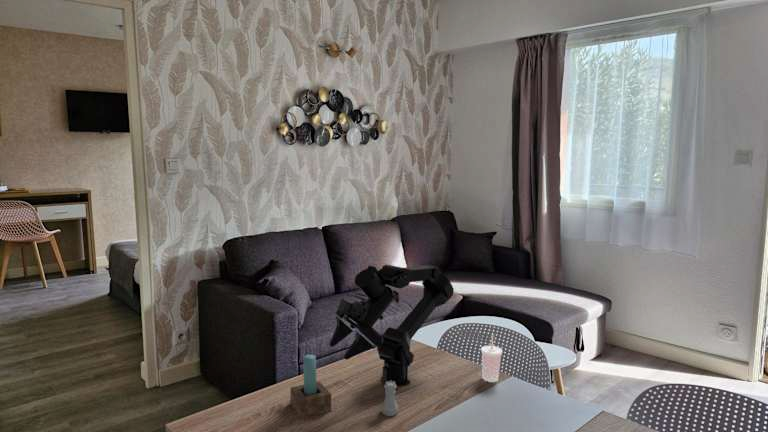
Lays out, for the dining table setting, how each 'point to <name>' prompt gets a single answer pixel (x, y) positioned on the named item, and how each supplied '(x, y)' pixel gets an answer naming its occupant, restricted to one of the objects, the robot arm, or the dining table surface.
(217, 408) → the dining table surface
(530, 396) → the dining table surface
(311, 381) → the teal pin
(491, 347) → the beverage cup
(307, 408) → the walnut hole block
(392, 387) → the rook chess piece
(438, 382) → the dining table surface
